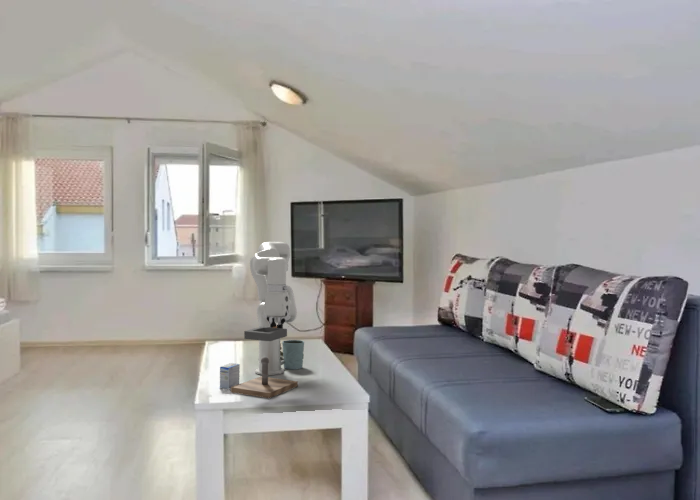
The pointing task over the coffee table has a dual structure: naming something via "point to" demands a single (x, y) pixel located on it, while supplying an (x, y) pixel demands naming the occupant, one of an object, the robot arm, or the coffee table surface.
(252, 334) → the grey square frame
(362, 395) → the coffee table surface
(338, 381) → the coffee table surface
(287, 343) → the teal cup
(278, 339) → the robot arm
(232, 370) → the medicine box
